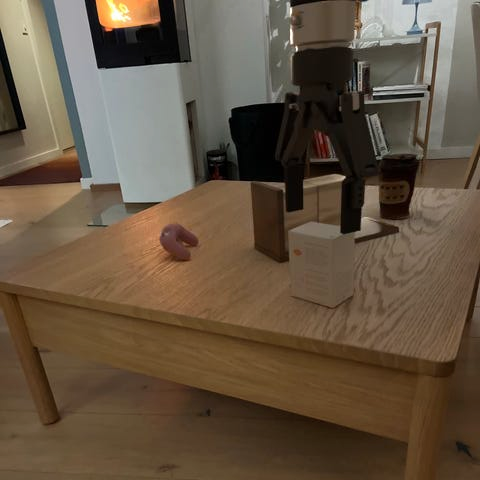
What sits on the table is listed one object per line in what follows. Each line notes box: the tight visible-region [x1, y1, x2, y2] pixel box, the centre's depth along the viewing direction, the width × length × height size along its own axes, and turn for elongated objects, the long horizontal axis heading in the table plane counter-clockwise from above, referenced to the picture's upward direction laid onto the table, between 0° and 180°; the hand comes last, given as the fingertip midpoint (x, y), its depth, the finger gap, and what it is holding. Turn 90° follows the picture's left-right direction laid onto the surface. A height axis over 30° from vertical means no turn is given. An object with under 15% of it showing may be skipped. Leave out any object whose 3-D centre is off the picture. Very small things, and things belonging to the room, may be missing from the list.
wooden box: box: [250, 173, 400, 263], centre depth 92 cm, size 10×28×13 cm, turn 116°
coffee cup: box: [378, 153, 421, 220], centre depth 103 cm, size 9×8×13 cm
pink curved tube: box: [158, 221, 199, 261], centre depth 94 cm, size 10×5×7 cm, turn 174°
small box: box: [288, 222, 356, 309], centre depth 70 cm, size 8×6×10 cm
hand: (320, 220), depth 67 cm, fingers open, 13 cm apart
